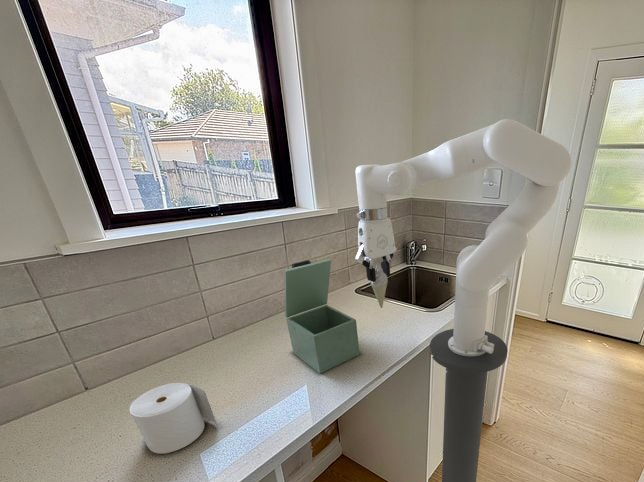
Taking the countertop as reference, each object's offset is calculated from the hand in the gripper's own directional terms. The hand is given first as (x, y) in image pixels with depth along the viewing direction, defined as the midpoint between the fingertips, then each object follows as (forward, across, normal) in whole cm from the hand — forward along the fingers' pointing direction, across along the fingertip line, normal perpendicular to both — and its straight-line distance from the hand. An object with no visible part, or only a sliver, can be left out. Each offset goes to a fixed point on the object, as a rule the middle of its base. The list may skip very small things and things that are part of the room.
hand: (378, 277), depth 99 cm
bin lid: (+1, -17, +11) cm, 21 cm away
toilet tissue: (+21, -58, +2) cm, 61 cm away
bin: (+21, -18, +7) cm, 28 cm away
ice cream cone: (+10, 0, 0) cm, 10 cm away
